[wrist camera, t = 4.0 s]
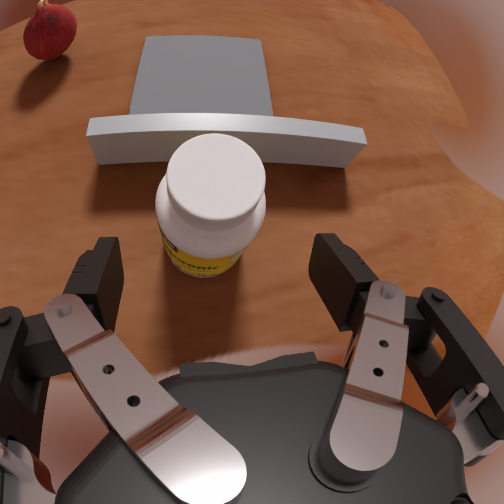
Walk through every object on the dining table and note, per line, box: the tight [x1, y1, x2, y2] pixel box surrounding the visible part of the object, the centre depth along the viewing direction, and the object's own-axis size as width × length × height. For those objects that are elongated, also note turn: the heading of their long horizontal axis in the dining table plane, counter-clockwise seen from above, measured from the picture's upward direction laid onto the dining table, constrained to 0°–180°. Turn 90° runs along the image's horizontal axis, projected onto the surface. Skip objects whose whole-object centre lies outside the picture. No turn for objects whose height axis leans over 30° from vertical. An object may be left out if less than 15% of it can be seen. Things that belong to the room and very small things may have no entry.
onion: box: [23, 0, 77, 60], centre depth 19 cm, size 6×6×8 cm
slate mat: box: [129, 35, 273, 116], centre depth 25 cm, size 12×12×1 cm
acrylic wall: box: [86, 113, 367, 168], centre depth 21 cm, size 20×2×4 cm, turn 95°
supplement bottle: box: [155, 133, 266, 278], centre depth 16 cm, size 5×5×10 cm
